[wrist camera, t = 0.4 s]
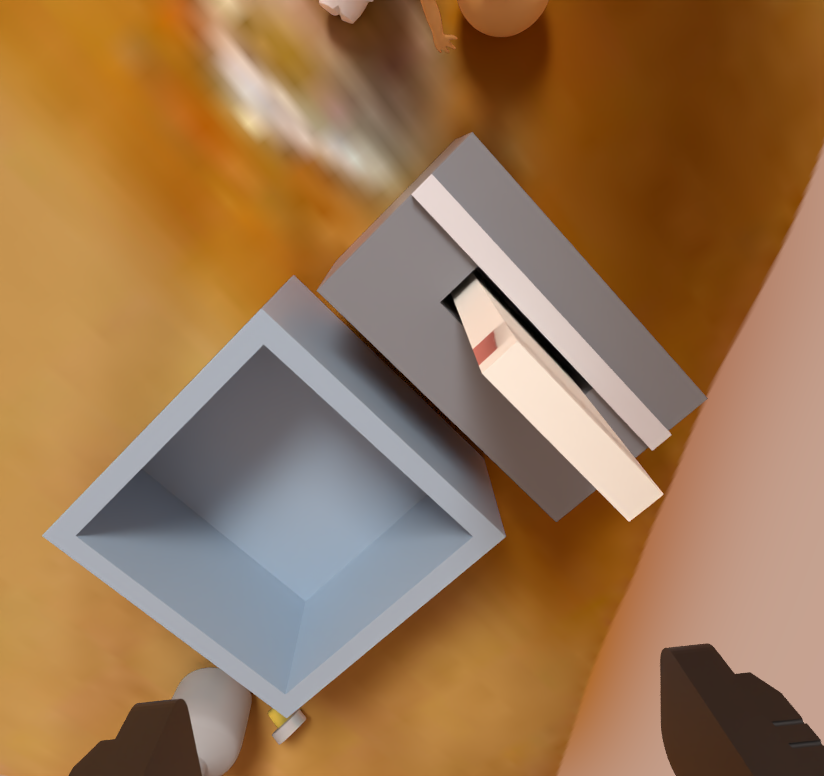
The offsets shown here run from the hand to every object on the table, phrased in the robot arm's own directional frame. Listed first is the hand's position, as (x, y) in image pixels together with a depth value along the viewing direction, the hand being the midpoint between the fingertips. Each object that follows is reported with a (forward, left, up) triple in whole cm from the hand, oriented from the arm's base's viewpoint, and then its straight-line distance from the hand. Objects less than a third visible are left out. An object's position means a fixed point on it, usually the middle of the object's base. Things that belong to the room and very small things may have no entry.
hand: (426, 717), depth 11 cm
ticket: (-4, +1, -23) cm, 24 cm away
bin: (+9, 0, -24) cm, 26 cm away
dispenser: (-4, +1, -24) cm, 25 cm away
